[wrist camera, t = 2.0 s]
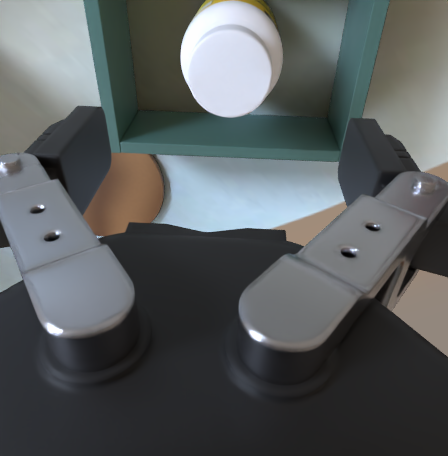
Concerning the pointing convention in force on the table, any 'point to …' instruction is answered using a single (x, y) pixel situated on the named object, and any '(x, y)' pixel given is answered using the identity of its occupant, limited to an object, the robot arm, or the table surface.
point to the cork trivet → (126, 194)
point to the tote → (237, 126)
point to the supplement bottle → (232, 56)
